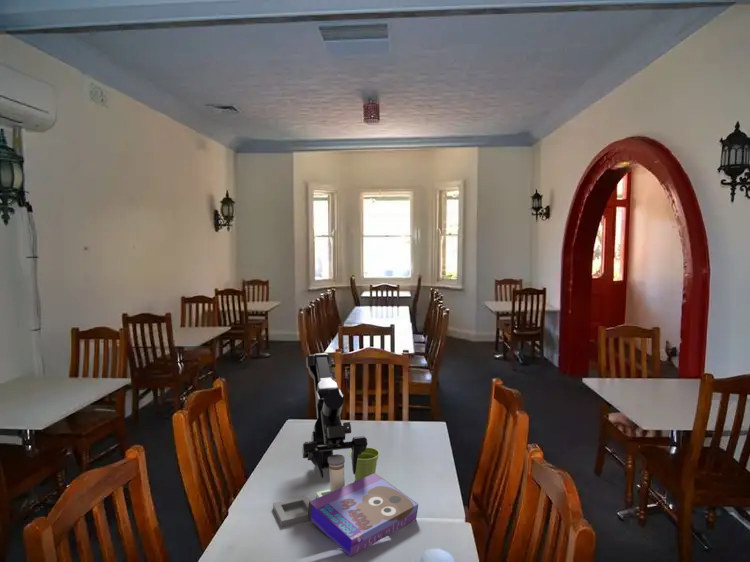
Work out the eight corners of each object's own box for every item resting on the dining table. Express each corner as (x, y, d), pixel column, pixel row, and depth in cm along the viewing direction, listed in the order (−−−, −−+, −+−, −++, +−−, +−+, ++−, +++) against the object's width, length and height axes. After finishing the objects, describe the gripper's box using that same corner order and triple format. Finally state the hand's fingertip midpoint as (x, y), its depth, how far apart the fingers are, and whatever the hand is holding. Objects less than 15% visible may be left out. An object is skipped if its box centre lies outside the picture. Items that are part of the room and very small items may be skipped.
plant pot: (345, 475, 170) (345, 449, 169) (372, 470, 173) (372, 444, 172) (356, 488, 161) (356, 461, 160) (384, 482, 165) (384, 456, 164)
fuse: (326, 502, 152) (324, 458, 151) (338, 495, 155) (336, 453, 154) (337, 507, 149) (335, 462, 147) (349, 500, 152) (347, 457, 151)
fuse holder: (273, 511, 148) (273, 503, 148) (307, 503, 152) (307, 495, 152) (281, 530, 139) (281, 521, 139) (318, 521, 143) (317, 512, 143)
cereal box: (418, 504, 143) (351, 540, 127) (416, 519, 144) (349, 557, 128) (374, 472, 155) (308, 502, 139) (373, 487, 156) (307, 518, 140)
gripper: (302, 415, 151) (307, 469, 141) (365, 409, 155) (375, 461, 146) (300, 431, 159) (305, 483, 150) (360, 425, 164) (368, 475, 154)
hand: (338, 475), depth 150 cm, fingers open, 9 cm apart
